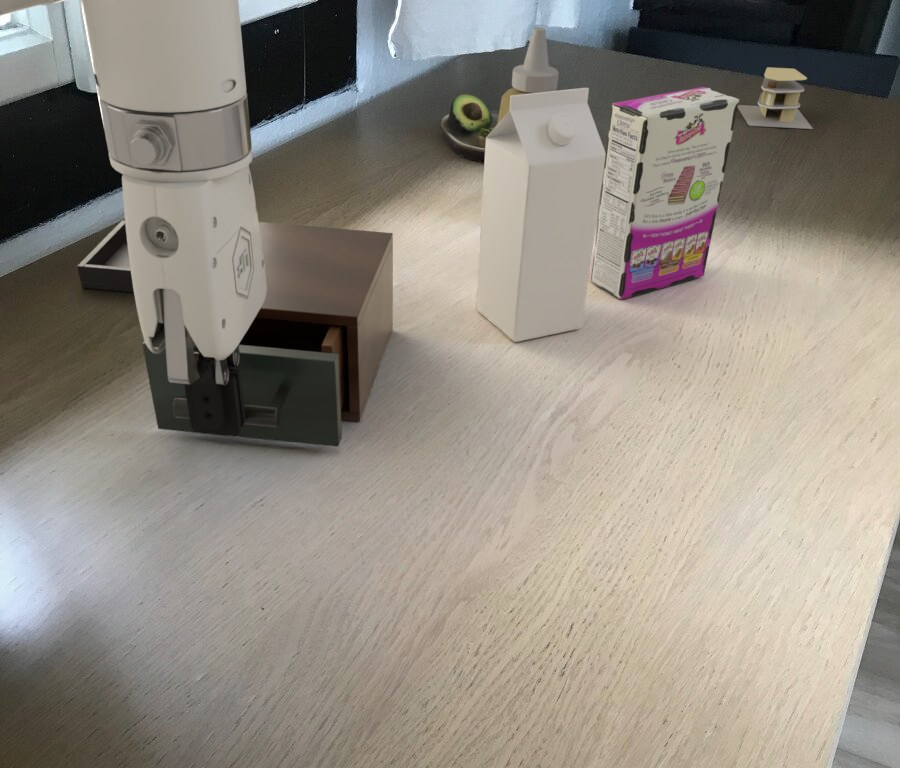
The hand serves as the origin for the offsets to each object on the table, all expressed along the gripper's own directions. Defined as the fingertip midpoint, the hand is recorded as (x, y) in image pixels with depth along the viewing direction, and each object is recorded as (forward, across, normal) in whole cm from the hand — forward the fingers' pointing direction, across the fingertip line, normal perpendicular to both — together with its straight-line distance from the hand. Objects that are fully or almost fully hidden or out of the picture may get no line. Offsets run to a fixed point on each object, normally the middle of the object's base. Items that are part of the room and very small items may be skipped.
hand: (219, 427), depth 64 cm
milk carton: (+5, +30, -19) cm, 36 cm away
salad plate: (+5, +80, -13) cm, 81 cm away
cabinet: (+5, +18, 0) cm, 19 cm away
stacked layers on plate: (+5, +101, -49) cm, 113 cm away
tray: (+5, +34, +15) cm, 38 cm away
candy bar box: (+5, +41, -30) cm, 51 cm away
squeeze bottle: (+5, +56, -17) cm, 59 cm away
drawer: (+4, +10, 0) cm, 11 cm away
